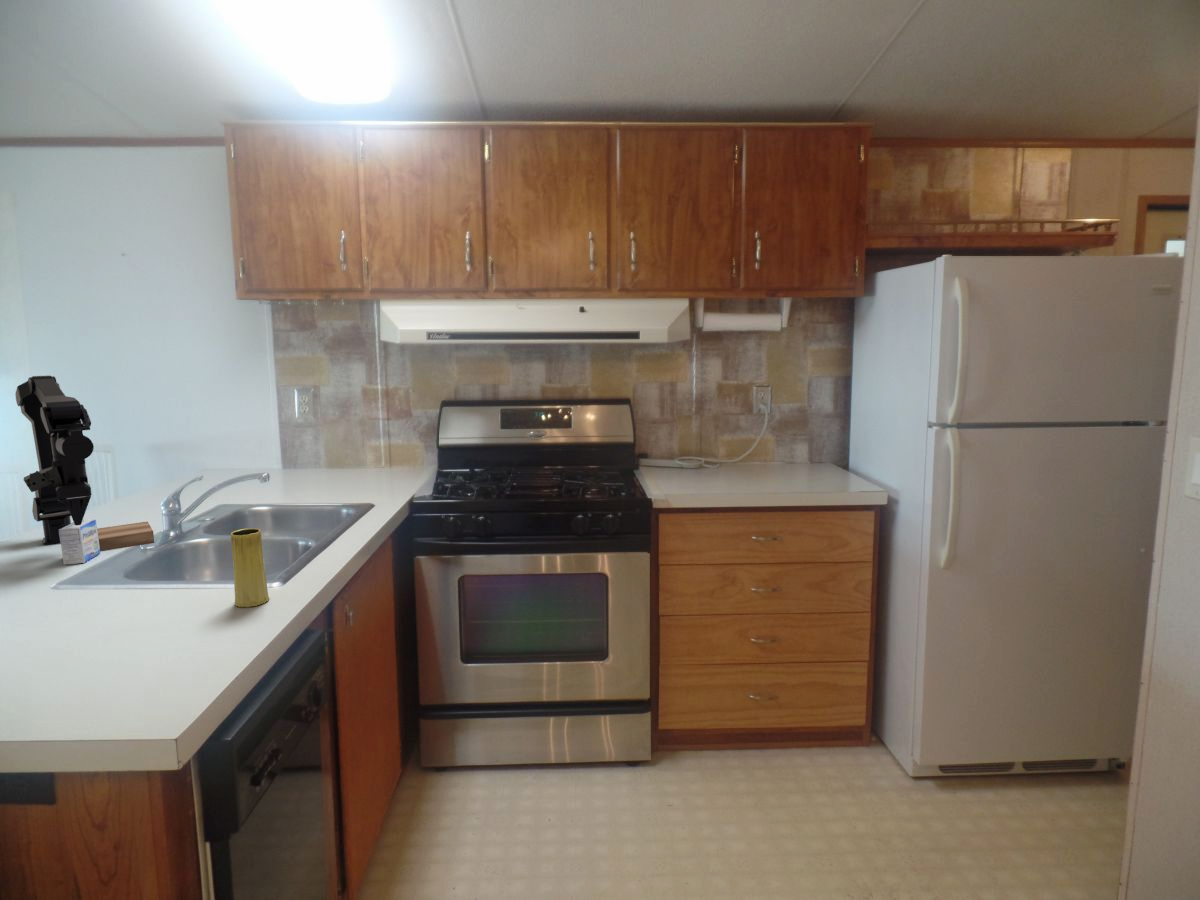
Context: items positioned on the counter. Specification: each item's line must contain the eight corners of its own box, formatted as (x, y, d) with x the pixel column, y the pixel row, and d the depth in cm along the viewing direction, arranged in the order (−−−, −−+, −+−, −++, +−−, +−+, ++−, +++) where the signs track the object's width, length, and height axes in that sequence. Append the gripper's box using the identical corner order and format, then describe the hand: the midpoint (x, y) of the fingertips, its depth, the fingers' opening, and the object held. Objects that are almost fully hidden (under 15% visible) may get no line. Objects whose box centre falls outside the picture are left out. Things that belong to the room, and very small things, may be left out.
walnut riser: (93, 540, 181) (92, 529, 180) (148, 532, 188) (147, 521, 187) (96, 551, 171) (95, 539, 171) (154, 542, 178) (153, 531, 178)
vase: (275, 596, 141) (269, 527, 138) (257, 608, 135) (251, 536, 132) (246, 595, 141) (240, 527, 139) (227, 607, 135) (220, 535, 133)
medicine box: (84, 563, 162) (80, 527, 161) (63, 565, 161) (57, 528, 160) (101, 553, 170) (96, 518, 168) (80, 555, 169) (75, 520, 167)
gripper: (24, 453, 164) (33, 518, 166) (22, 465, 149) (32, 536, 152) (83, 448, 171) (91, 511, 173) (87, 459, 156) (95, 527, 159)
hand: (77, 521), depth 164 cm, fingers open, 9 cm apart
